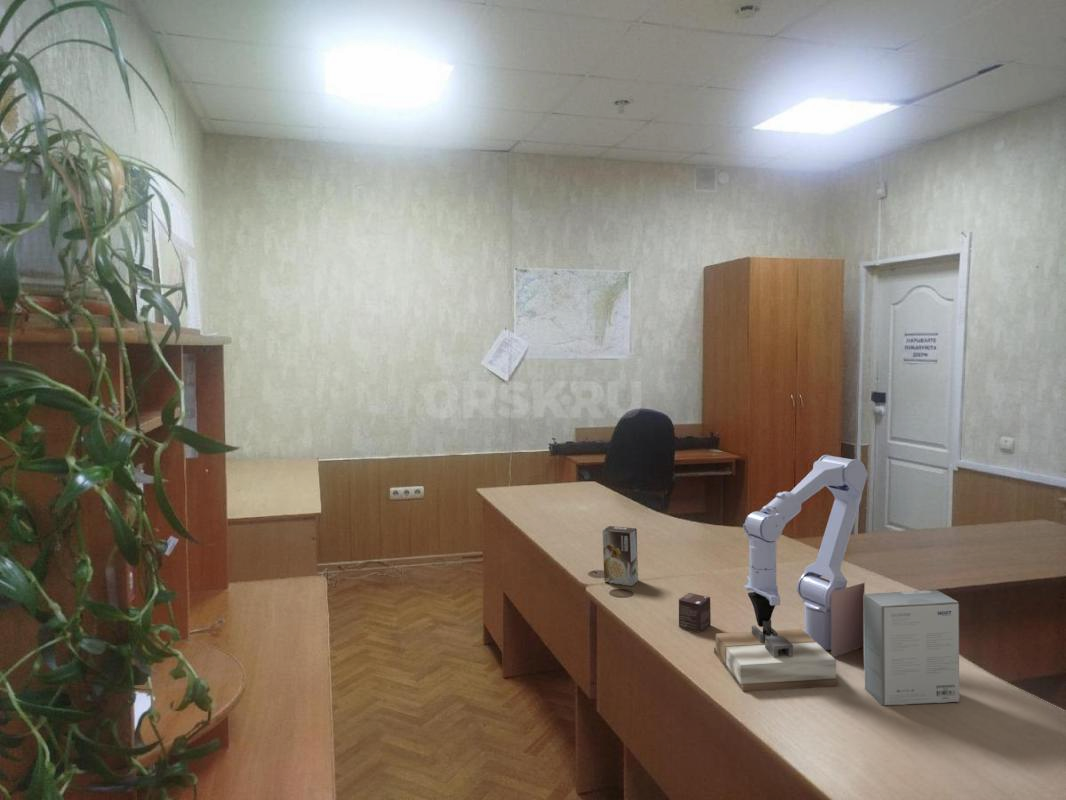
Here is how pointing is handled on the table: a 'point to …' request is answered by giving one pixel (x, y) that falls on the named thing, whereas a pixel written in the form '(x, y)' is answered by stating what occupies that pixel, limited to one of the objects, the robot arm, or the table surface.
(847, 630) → the greeting card
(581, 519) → the table surface
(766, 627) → the bolt
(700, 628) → the box
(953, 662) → the hard drive box
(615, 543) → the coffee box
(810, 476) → the robot arm
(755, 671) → the wooden board with latch
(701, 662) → the table surface
